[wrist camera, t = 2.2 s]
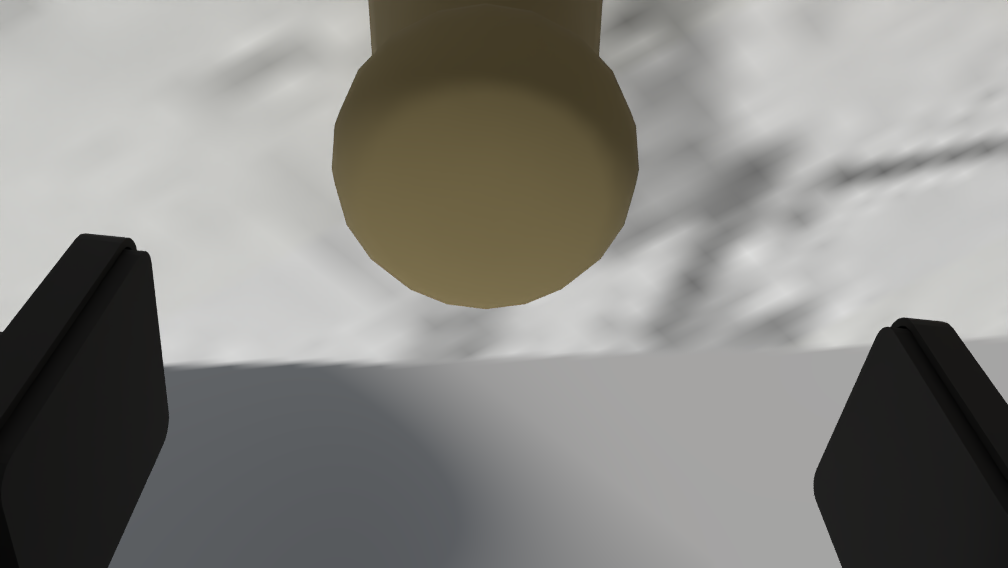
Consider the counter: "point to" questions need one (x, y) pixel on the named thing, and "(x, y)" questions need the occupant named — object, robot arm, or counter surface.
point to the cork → (485, 147)
